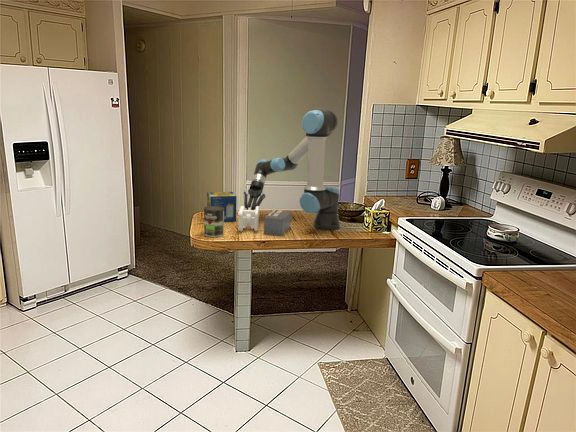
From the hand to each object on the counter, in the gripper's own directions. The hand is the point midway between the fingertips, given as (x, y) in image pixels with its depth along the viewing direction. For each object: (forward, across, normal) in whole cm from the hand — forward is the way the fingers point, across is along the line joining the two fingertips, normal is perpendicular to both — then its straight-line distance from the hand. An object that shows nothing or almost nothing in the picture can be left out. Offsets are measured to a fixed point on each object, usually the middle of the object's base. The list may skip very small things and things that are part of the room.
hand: (247, 218), depth 243 cm
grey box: (+3, -17, -4) cm, 18 cm away
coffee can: (+17, +11, +10) cm, 23 cm away
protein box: (-2, +19, -9) cm, 21 cm away
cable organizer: (+6, -2, 0) cm, 6 cm away
